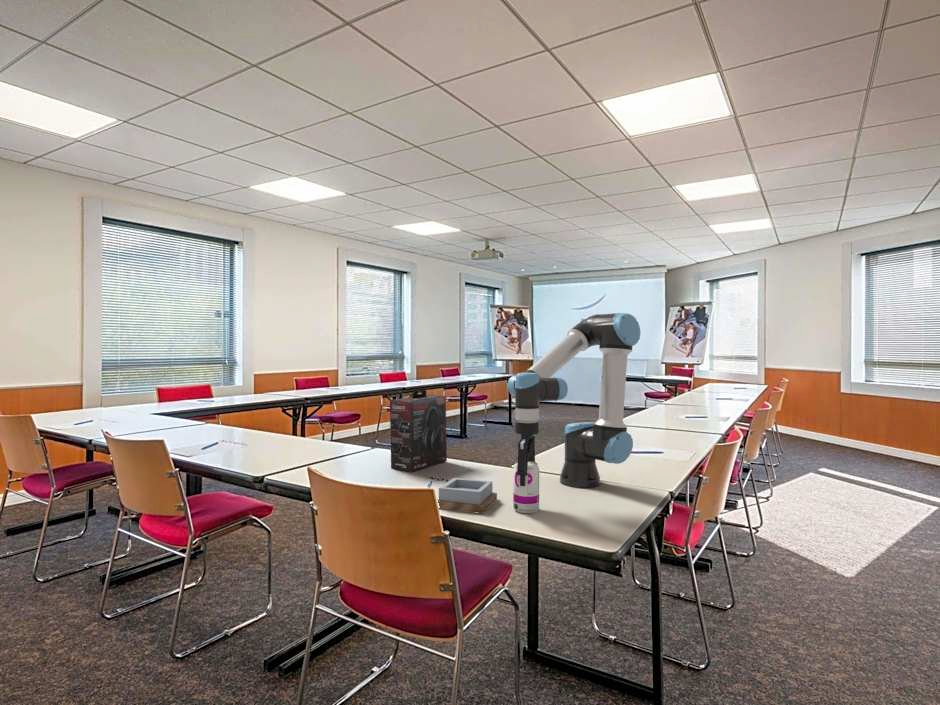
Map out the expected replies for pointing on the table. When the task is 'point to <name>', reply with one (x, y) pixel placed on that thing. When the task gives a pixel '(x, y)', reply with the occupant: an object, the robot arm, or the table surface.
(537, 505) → the supplement can
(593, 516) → the table surface
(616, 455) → the robot arm
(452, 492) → the grey rimmed block
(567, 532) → the table surface
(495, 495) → the walnut slab
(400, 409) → the headset box
